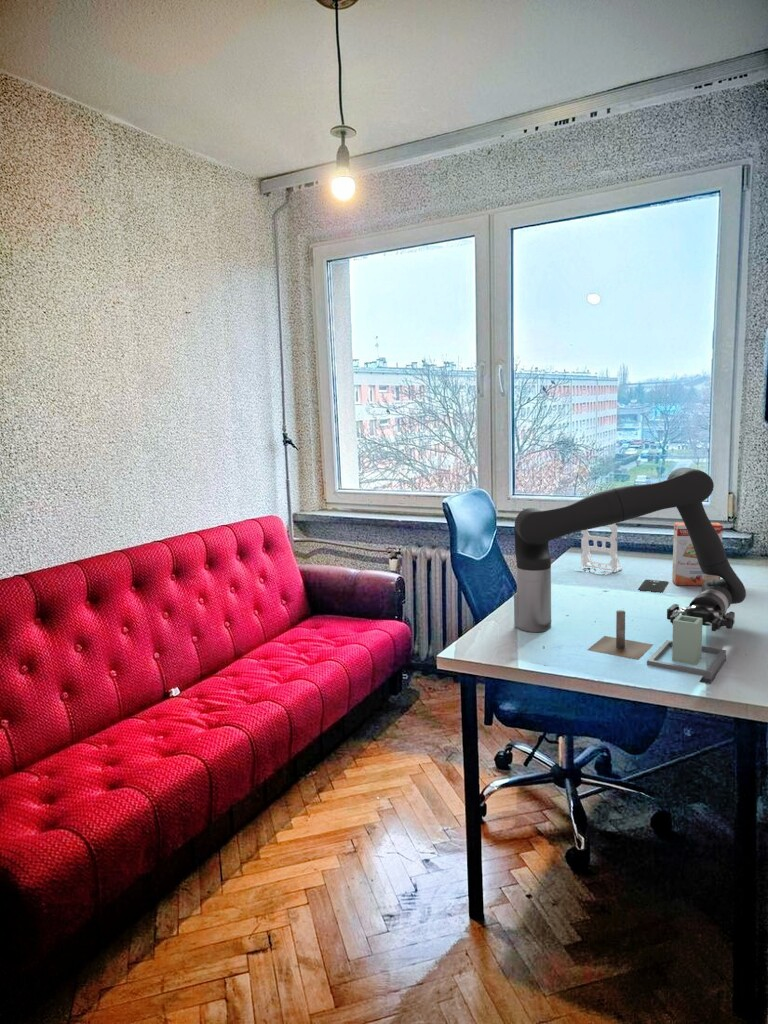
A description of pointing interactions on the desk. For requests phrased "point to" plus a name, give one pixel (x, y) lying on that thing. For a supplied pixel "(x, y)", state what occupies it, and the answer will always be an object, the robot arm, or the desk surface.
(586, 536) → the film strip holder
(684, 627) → the sleeve
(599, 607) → the desk surface
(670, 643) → the grey tray
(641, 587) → the smartphone
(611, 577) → the desk surface
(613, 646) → the board
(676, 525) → the cracker box
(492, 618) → the desk surface
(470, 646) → the desk surface
